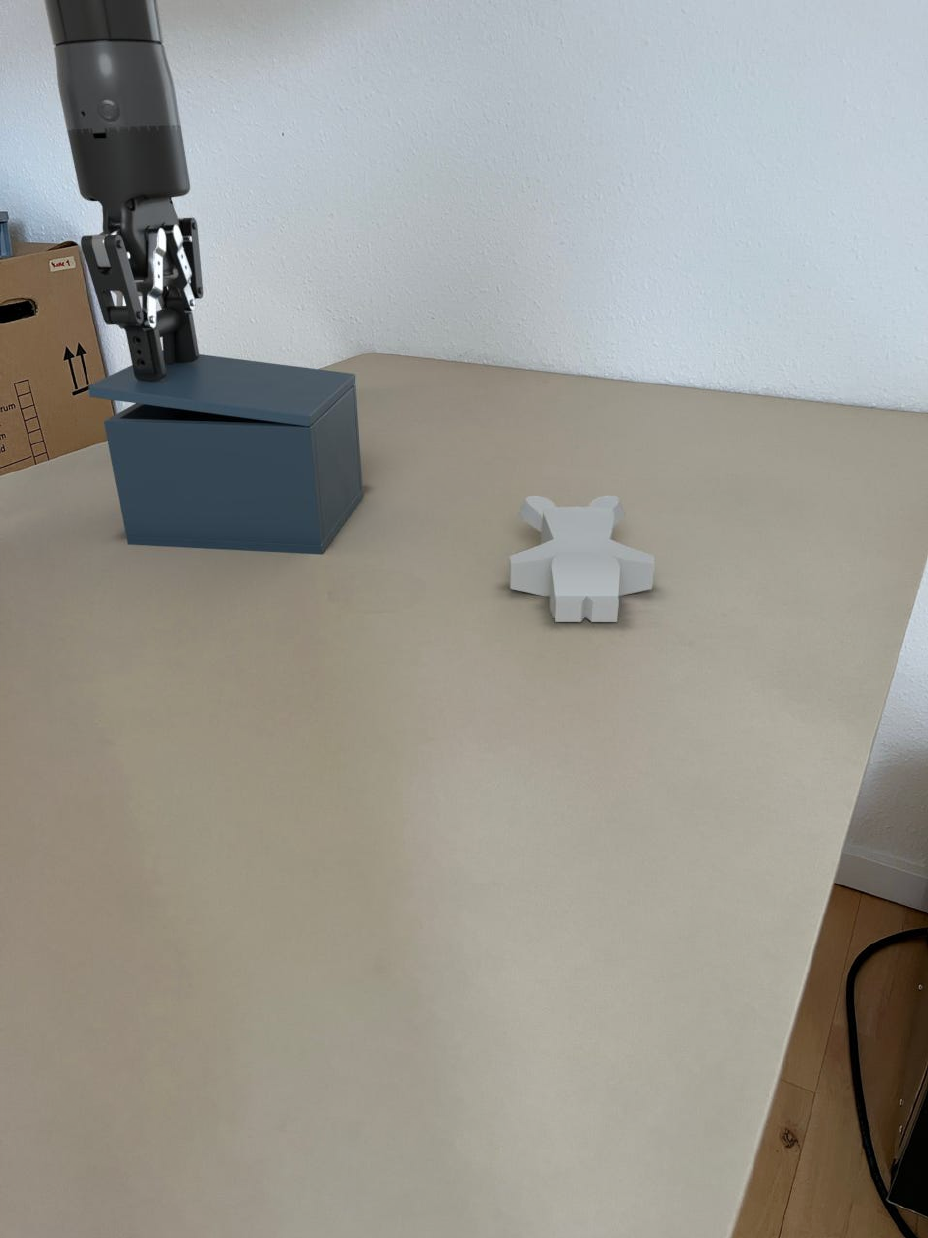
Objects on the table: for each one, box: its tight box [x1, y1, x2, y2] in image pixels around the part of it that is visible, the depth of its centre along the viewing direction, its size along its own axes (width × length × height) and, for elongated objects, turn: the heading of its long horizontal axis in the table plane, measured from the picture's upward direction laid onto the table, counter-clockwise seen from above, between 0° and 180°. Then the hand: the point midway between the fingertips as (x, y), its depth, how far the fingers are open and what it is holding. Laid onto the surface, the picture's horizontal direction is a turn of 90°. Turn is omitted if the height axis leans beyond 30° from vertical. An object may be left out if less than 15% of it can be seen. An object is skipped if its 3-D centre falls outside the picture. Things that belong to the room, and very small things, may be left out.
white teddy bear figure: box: [508, 495, 656, 623], centre depth 64 cm, size 10×5×15 cm
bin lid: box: [87, 308, 356, 426], centre depth 71 cm, size 16×13×5 cm
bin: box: [103, 384, 364, 556], centre depth 75 cm, size 16×13×10 cm
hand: (168, 369), depth 72 cm, fingers closed on bin lid, 5 cm apart
